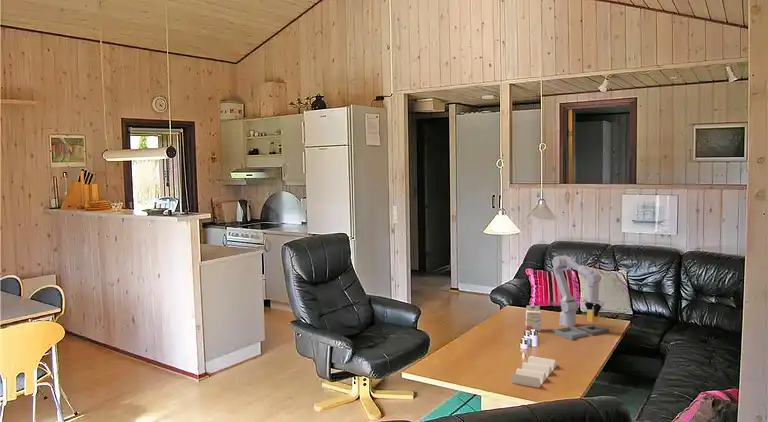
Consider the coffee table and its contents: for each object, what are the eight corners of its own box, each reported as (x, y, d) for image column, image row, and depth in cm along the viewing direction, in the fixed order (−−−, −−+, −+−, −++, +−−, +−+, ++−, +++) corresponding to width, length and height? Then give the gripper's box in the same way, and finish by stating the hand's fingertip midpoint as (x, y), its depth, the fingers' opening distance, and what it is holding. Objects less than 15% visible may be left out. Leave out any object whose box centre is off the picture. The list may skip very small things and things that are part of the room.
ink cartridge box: (526, 331, 366) (526, 307, 364) (525, 328, 370) (525, 305, 369) (540, 331, 365) (541, 307, 363) (539, 329, 370) (539, 305, 368)
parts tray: (554, 334, 358) (554, 329, 358) (569, 331, 364) (569, 326, 364) (572, 340, 346) (572, 335, 346) (587, 337, 352) (587, 332, 351)
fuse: (586, 321, 361) (587, 309, 360) (593, 320, 363) (593, 308, 363) (592, 322, 357) (592, 311, 356) (599, 321, 360) (599, 310, 359)
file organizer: (557, 366, 305) (557, 356, 305) (538, 389, 275) (539, 378, 274) (531, 361, 311) (531, 352, 311) (510, 384, 281) (511, 373, 281)
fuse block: (576, 331, 363) (576, 327, 363) (593, 328, 369) (593, 324, 369) (592, 336, 352) (592, 332, 352) (609, 333, 359) (609, 328, 358)
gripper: (579, 291, 363) (579, 313, 364) (598, 296, 350) (597, 319, 352) (587, 290, 367) (587, 312, 368) (606, 294, 354) (606, 317, 355)
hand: (593, 315), depth 360 cm, fingers closed on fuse, 4 cm apart
